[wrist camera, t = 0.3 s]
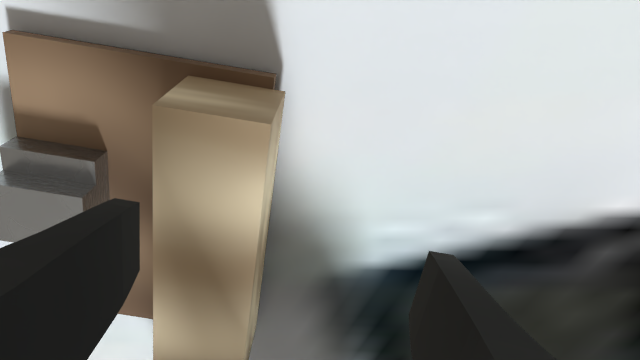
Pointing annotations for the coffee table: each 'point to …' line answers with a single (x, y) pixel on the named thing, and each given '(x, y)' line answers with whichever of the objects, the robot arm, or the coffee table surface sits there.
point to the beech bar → (211, 215)
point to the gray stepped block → (48, 184)
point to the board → (106, 115)
